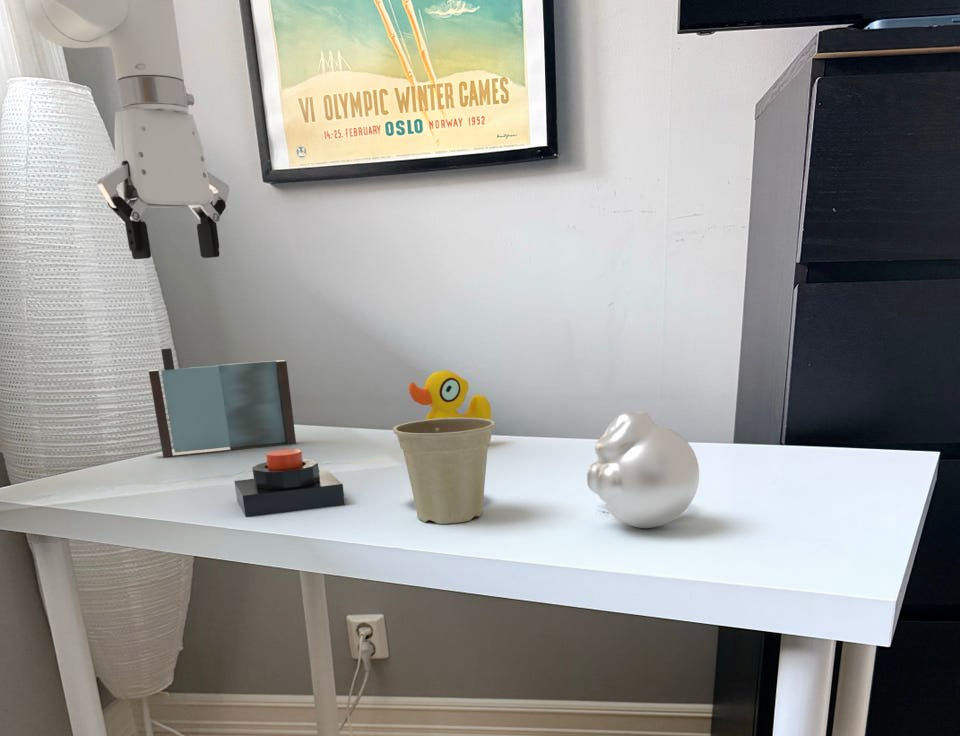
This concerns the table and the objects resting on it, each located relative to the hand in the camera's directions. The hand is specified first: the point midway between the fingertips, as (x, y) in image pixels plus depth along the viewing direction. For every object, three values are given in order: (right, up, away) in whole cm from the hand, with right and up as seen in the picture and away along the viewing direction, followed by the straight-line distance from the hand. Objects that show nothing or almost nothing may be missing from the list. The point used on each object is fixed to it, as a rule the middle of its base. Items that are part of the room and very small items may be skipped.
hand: (177, 257), depth 115 cm
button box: (+18, -33, -18) cm, 42 cm away
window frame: (+5, -24, +7) cm, 25 cm away
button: (+18, -30, -20) cm, 40 cm away
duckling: (+34, -22, +8) cm, 42 cm away
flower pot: (+35, -36, -27) cm, 57 cm away
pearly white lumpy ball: (+52, -38, -33) cm, 72 cm away
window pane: (+2, -23, +5) cm, 23 cm away
